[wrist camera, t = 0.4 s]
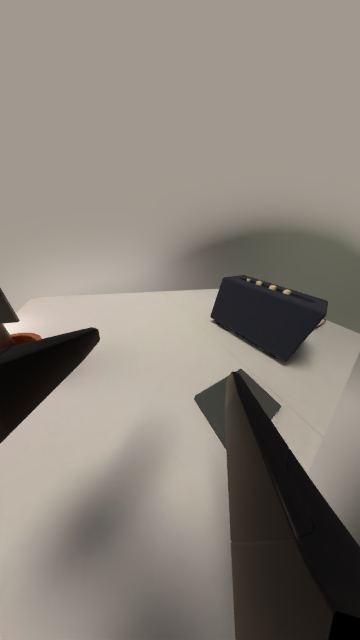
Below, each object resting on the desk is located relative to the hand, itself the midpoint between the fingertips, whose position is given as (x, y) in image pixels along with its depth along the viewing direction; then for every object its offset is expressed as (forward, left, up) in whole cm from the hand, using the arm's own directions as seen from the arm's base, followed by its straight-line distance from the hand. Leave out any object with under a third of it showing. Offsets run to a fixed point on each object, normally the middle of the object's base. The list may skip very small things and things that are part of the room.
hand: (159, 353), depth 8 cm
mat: (+9, -11, -15) cm, 21 cm away
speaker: (+33, -16, -15) cm, 40 cm away
